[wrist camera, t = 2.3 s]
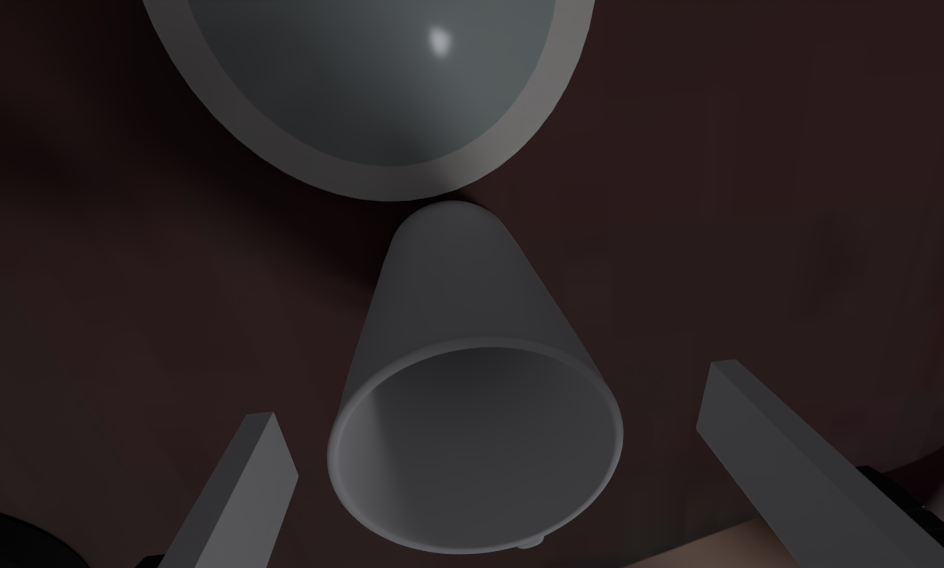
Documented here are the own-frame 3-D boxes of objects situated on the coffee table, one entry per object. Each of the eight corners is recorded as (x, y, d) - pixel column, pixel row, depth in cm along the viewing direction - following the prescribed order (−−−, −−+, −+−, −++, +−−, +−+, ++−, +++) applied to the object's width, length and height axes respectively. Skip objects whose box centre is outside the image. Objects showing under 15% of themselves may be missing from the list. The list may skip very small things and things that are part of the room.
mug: (359, 221, 19) (263, 402, 8) (496, 172, 18) (594, 290, 7) (436, 381, 23) (443, 637, 12) (548, 344, 23) (656, 574, 12)
